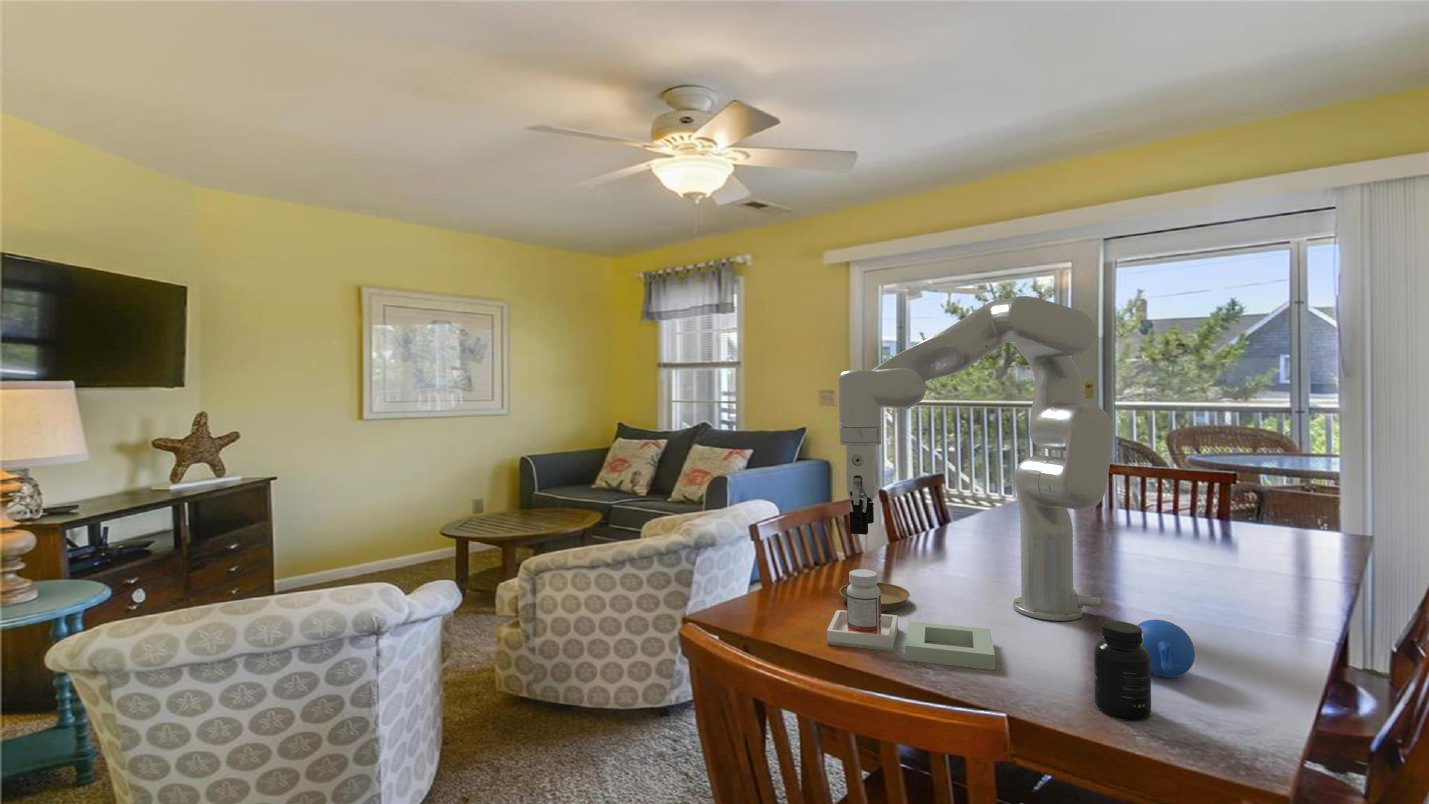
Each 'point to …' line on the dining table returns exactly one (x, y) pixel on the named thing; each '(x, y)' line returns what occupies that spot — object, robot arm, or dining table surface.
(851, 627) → the pill bottle
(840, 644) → the tray
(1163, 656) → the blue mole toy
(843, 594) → the plant saucer
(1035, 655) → the dining table surface
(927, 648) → the socket holder
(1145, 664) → the supplement bottle
